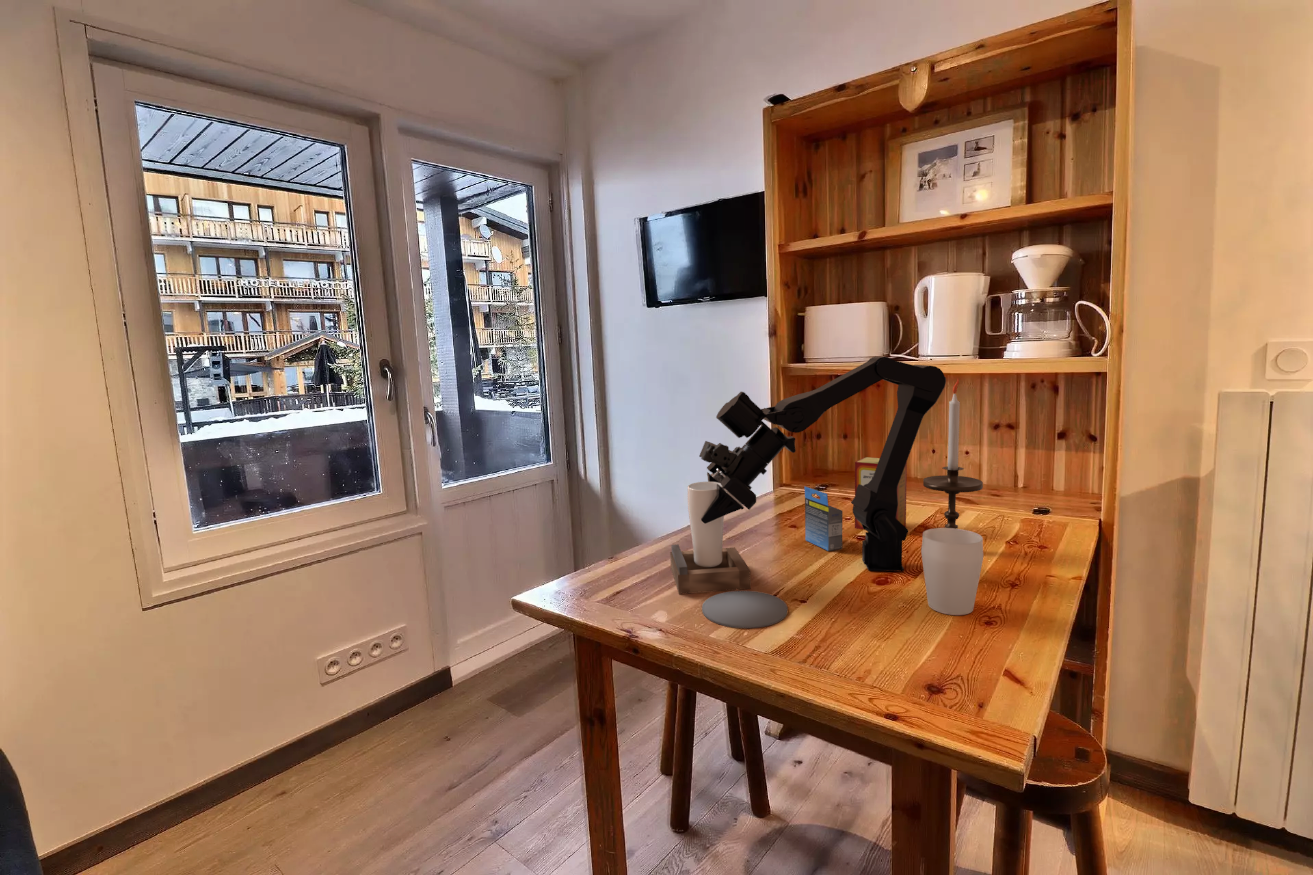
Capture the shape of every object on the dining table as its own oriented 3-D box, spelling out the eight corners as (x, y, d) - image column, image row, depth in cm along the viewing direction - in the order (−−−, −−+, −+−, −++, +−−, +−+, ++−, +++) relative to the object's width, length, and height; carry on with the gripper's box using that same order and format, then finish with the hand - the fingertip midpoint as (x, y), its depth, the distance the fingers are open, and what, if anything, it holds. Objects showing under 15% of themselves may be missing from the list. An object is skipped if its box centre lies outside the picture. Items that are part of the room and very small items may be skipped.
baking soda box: (854, 528, 149) (855, 460, 147) (865, 521, 154) (865, 455, 152) (896, 534, 143) (897, 463, 141) (905, 527, 148) (906, 458, 146)
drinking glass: (702, 572, 117) (699, 492, 114) (683, 561, 123) (680, 485, 120) (733, 564, 120) (731, 486, 117) (713, 554, 126) (710, 479, 123)
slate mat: (785, 594, 112) (785, 591, 112) (789, 629, 99) (789, 626, 99) (705, 592, 115) (705, 589, 114) (698, 626, 101) (698, 623, 101)
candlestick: (993, 554, 128) (999, 377, 122) (947, 562, 125) (952, 381, 119) (953, 539, 138) (957, 375, 133) (910, 545, 135) (913, 378, 130)
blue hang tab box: (843, 549, 135) (843, 491, 133) (827, 552, 133) (827, 494, 132) (819, 537, 143) (818, 483, 141) (804, 540, 142) (803, 485, 140)
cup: (978, 623, 98) (980, 547, 96) (915, 612, 103) (916, 540, 101) (984, 602, 106) (986, 531, 104) (925, 592, 110) (926, 525, 109)
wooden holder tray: (735, 564, 128) (734, 540, 128) (750, 588, 115) (750, 562, 115) (670, 568, 127) (669, 544, 127) (678, 593, 114) (677, 567, 114)
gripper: (715, 419, 127) (662, 478, 127) (735, 432, 108) (673, 501, 109) (756, 456, 128) (703, 514, 129) (782, 475, 110) (721, 542, 111)
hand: (699, 516), depth 120 cm, fingers closed on drinking glass, 7 cm apart
